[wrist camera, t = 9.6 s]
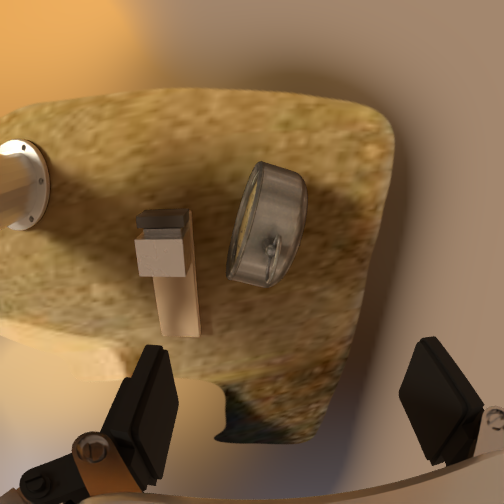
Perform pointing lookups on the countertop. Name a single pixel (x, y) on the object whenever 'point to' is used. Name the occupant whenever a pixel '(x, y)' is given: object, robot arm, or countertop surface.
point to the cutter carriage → (164, 252)
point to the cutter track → (175, 279)
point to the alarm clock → (267, 226)
